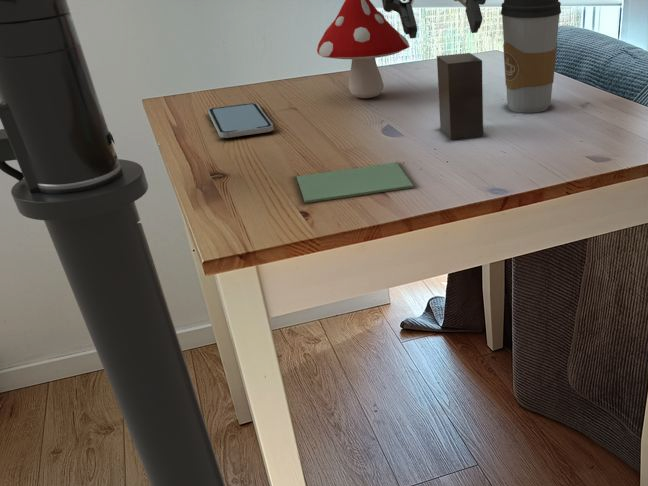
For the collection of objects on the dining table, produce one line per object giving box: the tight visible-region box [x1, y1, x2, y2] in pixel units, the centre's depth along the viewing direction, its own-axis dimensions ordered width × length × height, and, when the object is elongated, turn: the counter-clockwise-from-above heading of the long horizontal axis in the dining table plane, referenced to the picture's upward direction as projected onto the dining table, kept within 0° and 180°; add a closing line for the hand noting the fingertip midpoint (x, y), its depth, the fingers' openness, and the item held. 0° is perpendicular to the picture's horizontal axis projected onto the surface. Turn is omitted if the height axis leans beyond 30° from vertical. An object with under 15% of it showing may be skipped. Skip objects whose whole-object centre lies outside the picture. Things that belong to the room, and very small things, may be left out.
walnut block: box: [436, 52, 484, 141], centre depth 90 cm, size 4×5×10 cm
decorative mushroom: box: [316, 0, 410, 99], centre depth 106 cm, size 14×14×15 cm
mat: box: [296, 162, 414, 204], centre depth 78 cm, size 12×8×1 cm, turn 108°
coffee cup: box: [500, 0, 562, 114], centre depth 98 cm, size 8×8×15 cm
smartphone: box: [207, 102, 275, 139], centre depth 99 cm, size 7×1×15 cm
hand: (445, 31), depth 91 cm, fingers open, 8 cm apart
